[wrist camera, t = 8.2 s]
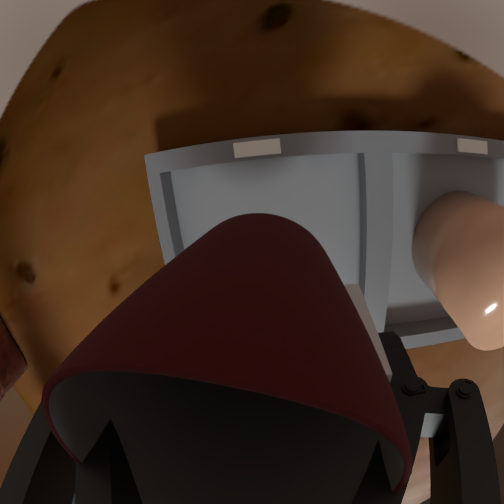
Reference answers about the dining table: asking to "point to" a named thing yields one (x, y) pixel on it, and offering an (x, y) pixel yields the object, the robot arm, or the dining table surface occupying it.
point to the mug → (236, 377)
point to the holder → (334, 204)
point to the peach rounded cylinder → (465, 263)
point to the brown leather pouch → (9, 361)
